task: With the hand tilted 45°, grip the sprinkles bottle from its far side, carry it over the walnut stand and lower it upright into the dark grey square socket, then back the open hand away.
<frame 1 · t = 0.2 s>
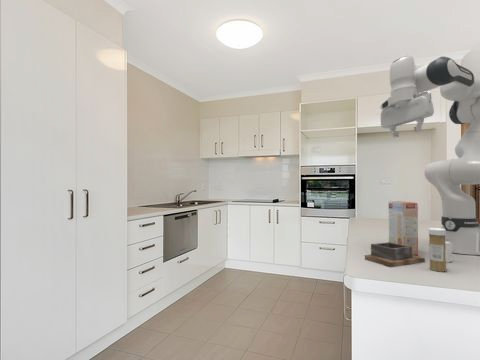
hand: (406, 134, 105), 47 cm above the counter, tool pointing down, fingers open, 8 cm apart
cracker box: (403, 251, 116), on the counter
sprinkles bottle: (437, 270, 90), on the counter
white cup: (441, 261, 101), on the counter
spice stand: (394, 260, 101), on the counter
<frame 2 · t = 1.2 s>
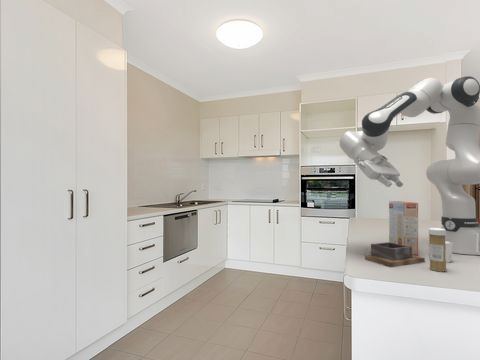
hand: (395, 185, 102), 28 cm above the counter, tool tilted 45°, fingers open, 8 cm apart
nothing on the counter moved.
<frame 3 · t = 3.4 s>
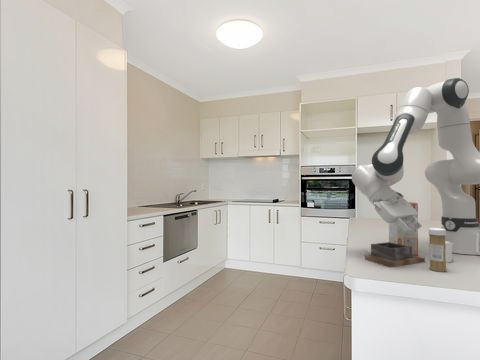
hand: (414, 228, 95), 13 cm above the counter, tool tilted 45°, fingers open, 8 cm apart
nothing on the counter moved.
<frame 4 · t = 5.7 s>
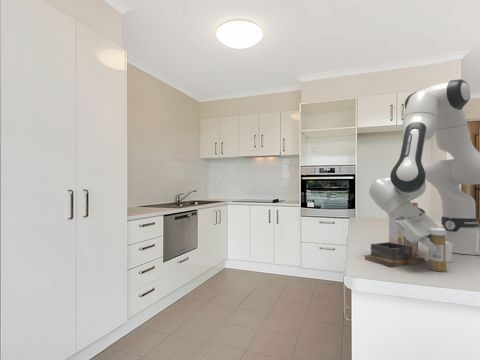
hand: (439, 249, 89), 7 cm above the counter, tool tilted 45°, fingers closed on sprinkles bottle, 4 cm apart
sprinkles bottle: (437, 270, 90), on the counter, touching gripper
everything else where it was.
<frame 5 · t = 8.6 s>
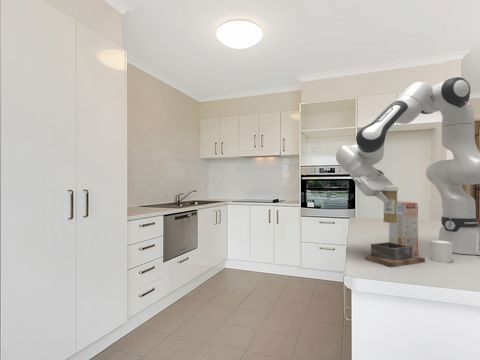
hand: (392, 202, 101), 21 cm above the counter, tool tilted 45°, fingers closed on sprinkles bottle, 4 cm apart
sprinkles bottle: (389, 222, 101), point 14 cm above the counter, touching gripper
everything else where it was.
when the fingers open (10 cm above the counter, at t = 11.7 s): sprinkles bottle stays where it is, resting on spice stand.
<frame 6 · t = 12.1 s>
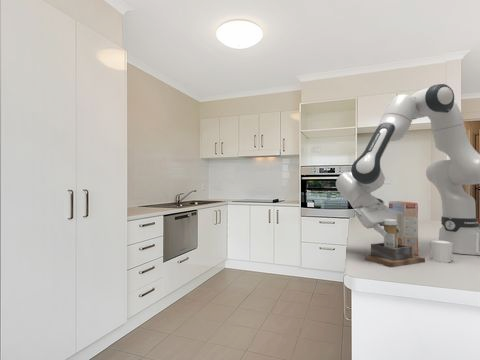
hand: (392, 233, 101), 10 cm above the counter, tool tilted 45°, fingers open, 8 cm apart
sprinkles bottle: (391, 256, 101), point 1 cm above the counter, touching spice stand
everything else where it was.
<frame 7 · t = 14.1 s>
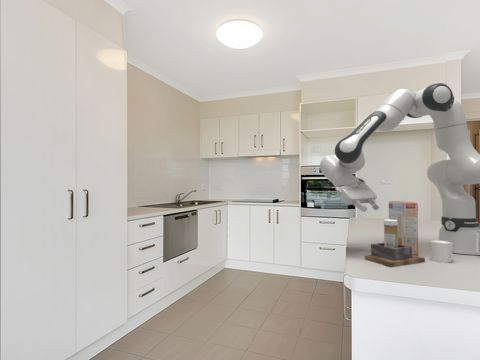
hand: (371, 209, 108), 18 cm above the counter, tool tilted 45°, fingers open, 8 cm apart
nothing on the counter moved.
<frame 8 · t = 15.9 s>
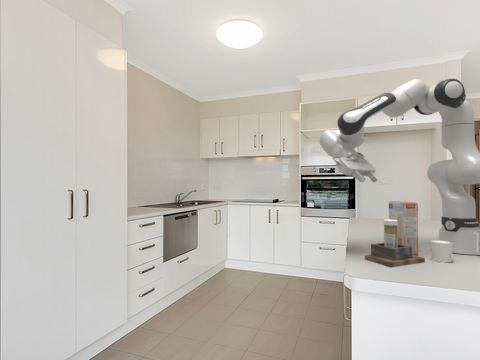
hand: (369, 181, 108), 29 cm above the counter, tool tilted 45°, fingers open, 8 cm apart
nothing on the counter moved.
at the end: sprinkles bottle 0.3 cm from the target spot on the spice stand, point 1.3 cm above the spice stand's base; sprinkles bottle tilted 0°; the gripper is holding nothing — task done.
